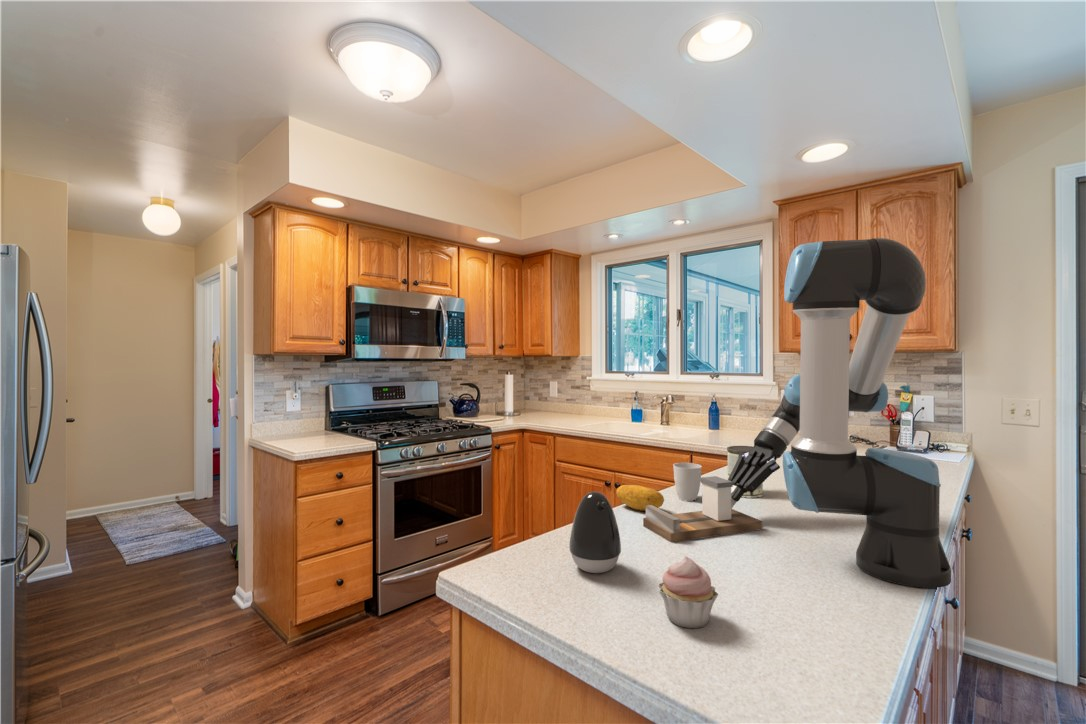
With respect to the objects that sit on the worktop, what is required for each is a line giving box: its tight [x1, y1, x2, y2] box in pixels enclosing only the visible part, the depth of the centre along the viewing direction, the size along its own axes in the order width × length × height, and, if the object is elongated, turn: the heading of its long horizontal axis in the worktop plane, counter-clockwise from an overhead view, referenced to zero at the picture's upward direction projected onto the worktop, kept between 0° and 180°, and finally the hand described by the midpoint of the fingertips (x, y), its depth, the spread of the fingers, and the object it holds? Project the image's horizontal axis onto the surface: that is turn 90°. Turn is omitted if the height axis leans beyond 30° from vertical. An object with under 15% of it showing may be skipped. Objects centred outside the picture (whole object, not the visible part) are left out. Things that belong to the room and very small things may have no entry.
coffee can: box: [726, 445, 764, 499], centre depth 156 cm, size 10×10×14 cm
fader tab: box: [700, 475, 733, 521], centre depth 126 cm, size 5×6×9 cm
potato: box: [615, 484, 665, 512], centre depth 140 cm, size 8×14×7 cm, turn 44°
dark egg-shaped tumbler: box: [569, 491, 622, 574], centre depth 100 cm, size 10×10×15 cm
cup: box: [672, 462, 703, 502], centre depth 150 cm, size 8×8×10 cm
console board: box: [642, 505, 763, 543], centre depth 125 cm, size 26×12×5 cm, turn 110°
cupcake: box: [657, 555, 719, 629], centre depth 81 cm, size 9×9×10 cm
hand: (723, 508), depth 129 cm, fingers closed
